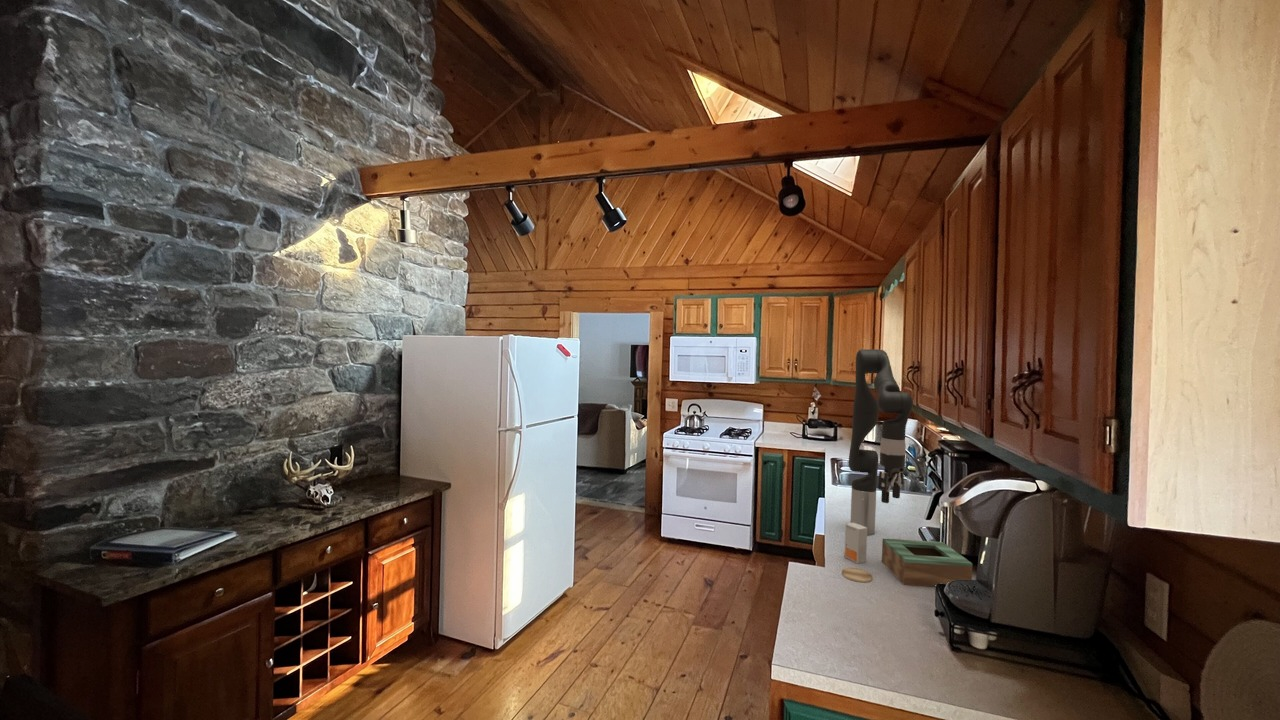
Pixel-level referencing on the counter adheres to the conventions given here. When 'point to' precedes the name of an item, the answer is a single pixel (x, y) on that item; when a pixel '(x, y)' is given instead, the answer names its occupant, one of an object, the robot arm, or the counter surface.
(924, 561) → the caddy
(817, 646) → the counter surface
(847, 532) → the skincare box
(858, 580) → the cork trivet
